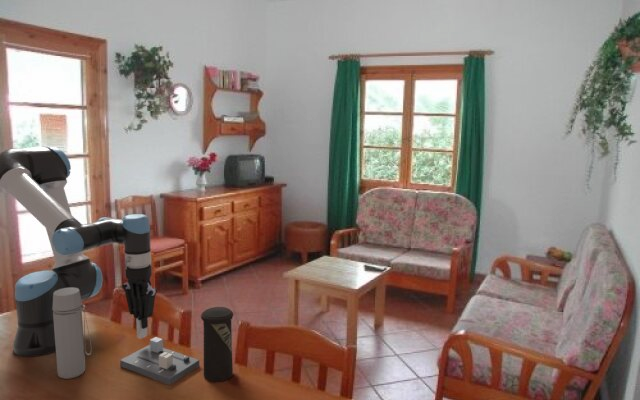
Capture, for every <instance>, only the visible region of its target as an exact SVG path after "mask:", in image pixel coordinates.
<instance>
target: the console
mask: <svg viewBox="0 0 640 400" xmlns="http://www.w3.org/2000/svg"><path fill="white" fill-rule="evenodd" d="M164 352H167V353H170V354H172V357H173V365H172V366H170V368H168V369H164V368H162V367H159V355H160V354H162V353H164ZM119 363H120V367H121V368H124V369H126V370H128V371H132V372H134V373H137V374H140V375H142V376H144V377H147V378H150V379H152V380H155V381H158V382H160V383H163V384H165V385H168V386H171V385H173V384H174V383H175V382H177V381H179V380H180V379H182V378H183V377H185V376H187V375H188V374H190V373H191V372H193V371H194V370H196V369H197V368H199V367H200V359H197V358H194V357H192V356H188V355H185V354H183V353H180V352H177V351H173V350H171V349H167V348H165V347H163V350H162V351H160V352H158V353H156V352H153V351H150V344H148V345H146V346H145V347H143V348H140V349H139V350H137V351H135V352H133V353H131V354H129V355H127V356H125V357H123V358H122V359H119Z"/></svg>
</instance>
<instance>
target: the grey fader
mask: <svg viewBox="0 0 640 400" xmlns="http://www.w3.org/2000/svg"><path fill="white" fill-rule="evenodd" d="M149 345H150V351H153V352H156V353H158V352H160V351H162V350H163V348H164V339H163V338H160V337H158V336H155V337H153V338H150V339H149Z"/></svg>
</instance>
